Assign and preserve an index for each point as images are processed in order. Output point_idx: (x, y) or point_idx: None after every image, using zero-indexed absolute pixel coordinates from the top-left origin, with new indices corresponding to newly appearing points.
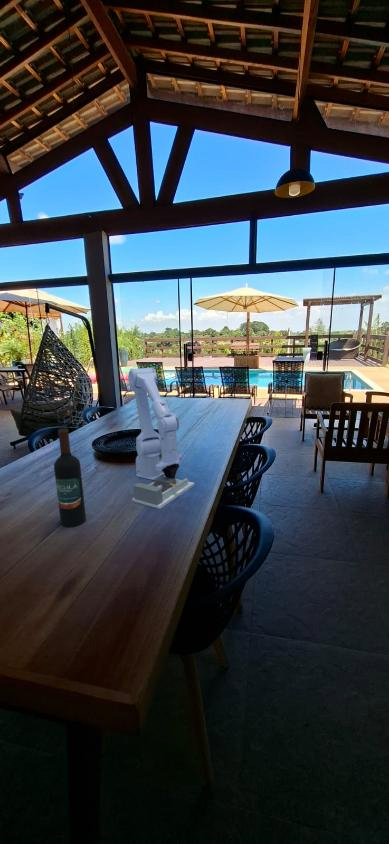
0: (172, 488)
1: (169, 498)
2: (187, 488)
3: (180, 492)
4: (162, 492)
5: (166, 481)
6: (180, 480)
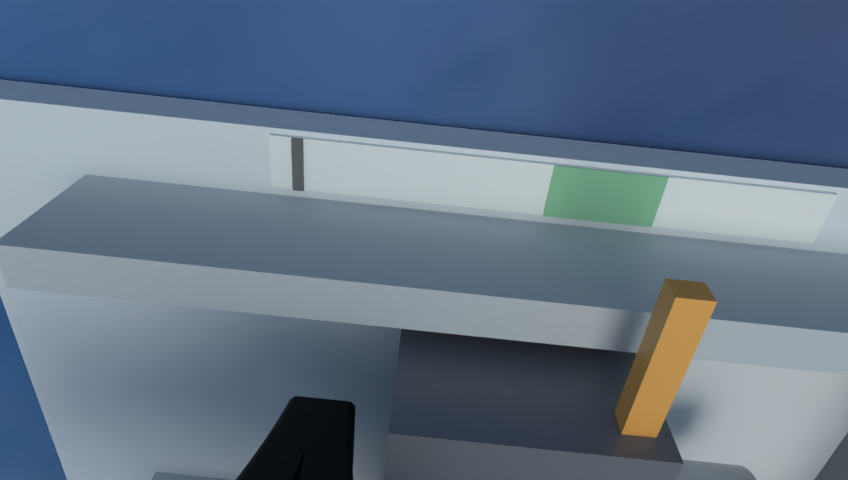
0: None
1: (827, 207)
2: (220, 113)
3: (474, 147)
4: None
5: None
6: (47, 355)
